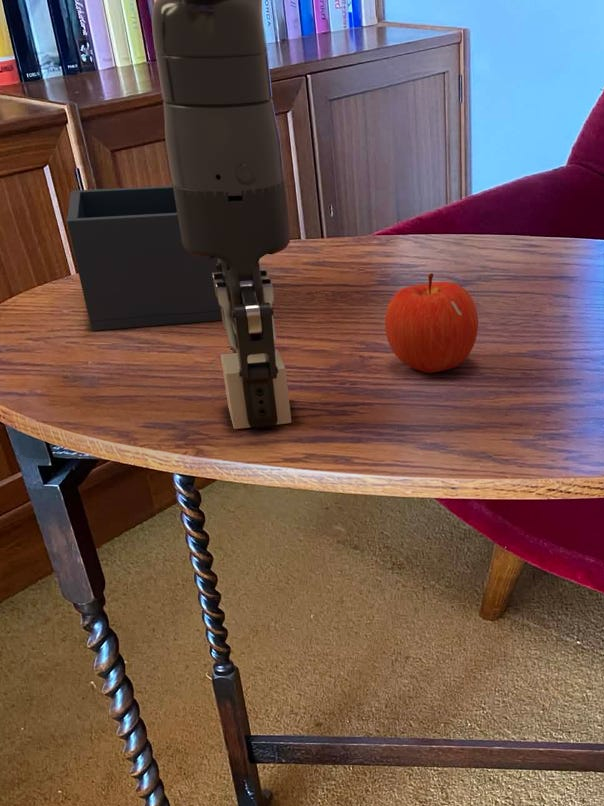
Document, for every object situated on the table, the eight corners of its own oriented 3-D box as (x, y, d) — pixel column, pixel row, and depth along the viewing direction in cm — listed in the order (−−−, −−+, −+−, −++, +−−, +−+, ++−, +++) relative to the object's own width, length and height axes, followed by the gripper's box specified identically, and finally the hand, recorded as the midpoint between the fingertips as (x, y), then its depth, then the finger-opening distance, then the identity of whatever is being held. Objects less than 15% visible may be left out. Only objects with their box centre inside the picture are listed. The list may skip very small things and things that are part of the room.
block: (234, 429, 73) (225, 373, 71) (228, 408, 77) (220, 354, 74) (291, 423, 75) (285, 367, 72) (283, 402, 78) (277, 348, 75)
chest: (91, 331, 92) (66, 220, 86) (93, 290, 102) (71, 190, 97) (238, 318, 95) (223, 212, 89) (225, 281, 106) (211, 183, 100)
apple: (496, 369, 85) (498, 275, 80) (422, 389, 80) (419, 292, 76) (442, 344, 90) (441, 255, 85) (369, 363, 86) (364, 270, 81)
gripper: (166, 159, 70) (203, 385, 80) (177, 199, 59) (218, 456, 69) (269, 155, 72) (293, 376, 82) (299, 193, 61) (322, 444, 71)
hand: (259, 411), depth 75 cm, fingers closed on block, 4 cm apart
